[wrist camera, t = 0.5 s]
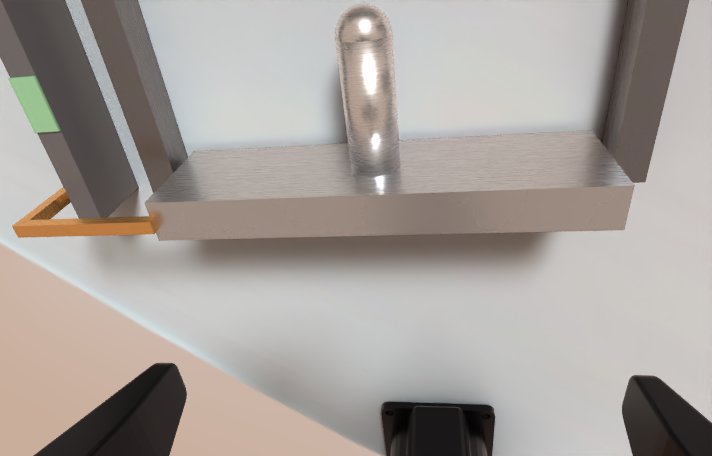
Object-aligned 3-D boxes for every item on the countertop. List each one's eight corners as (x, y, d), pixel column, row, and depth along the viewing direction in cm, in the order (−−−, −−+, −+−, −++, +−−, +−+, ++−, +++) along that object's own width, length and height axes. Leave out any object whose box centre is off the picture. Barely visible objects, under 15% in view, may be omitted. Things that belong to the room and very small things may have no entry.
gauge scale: (138, 187, 22) (101, 222, 20) (116, 188, 23) (77, 223, 20) (-19, -212, 15) (-111, -237, 12) (-49, -206, 15) (-147, -230, 13)
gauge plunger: (585, 168, 19) (628, 236, 15) (96, 189, 22) (25, 249, 18) (618, -32, 15) (688, -12, 11) (25, 28, 19) (-85, 60, 15)
